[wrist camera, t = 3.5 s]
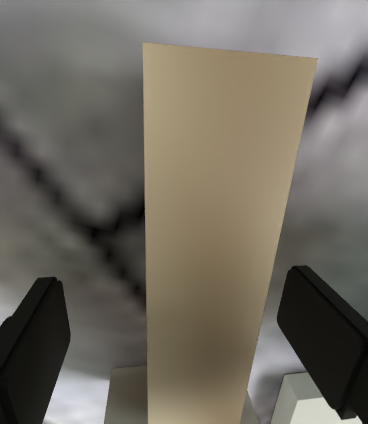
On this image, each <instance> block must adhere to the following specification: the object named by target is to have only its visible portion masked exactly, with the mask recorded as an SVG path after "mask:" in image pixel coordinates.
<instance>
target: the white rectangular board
mask: <svg viewBox="0 0 368 424" xmlns="http://www.w3.org/2000/svg"><path fill="white" fill-rule="evenodd" d="M270 424H362V422H361V420H360V419H359V418H358V416H356V418H353V419H347V420H341V419H340V417H339V416H338V414H337V412H336V411H335V410H334V409H332V408H331V407H330V406H329V405H328V404H327V402H326V401H325V399H324V397H323V396H322V394H321V393H320V391H319V389H318V388H317V386H316V385H315V383H314V381H313V380H312V378H311V377H310V375H309V373H308V372H306V373H297V374H288V375H284V378H283V382H282V385H281V389H280V392H279V396H278V399H277V402H276V406H275V409H274V413H273V416H272V420H271V423H270Z"/></svg>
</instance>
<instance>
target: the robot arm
mask: <svg viewBox="0 0 368 424" xmlns="http://www.w3.org/2000/svg"><path fill="white" fill-rule="evenodd" d="M277 323H278V325H279V327H280V329H281V330H282V332H283V333H284V335H285V337H286V338H287V340H288V341H289V343H290V345H291V346H292V348H293V349H294V351H295V353H296V354H297V356H298V357H299V359H300V361H301V362H302V364H303V365H304V367H305V369H306V370H307V372H308V373H309V375H310V377H311V378H312V380H313V381H314V383H315V385H316V386H317V388H318V389H319V391H320V393H321V394H322V396H323V397H324V399H325V401H326V402H327V404H328V405H329V406H330V407H331V408H332V409H334V410H335V411H336V412H337V414H338V416H339V417H340V419H341V420H347V419H353V418H356V416H358V418H359V419H360V420H361V422H362V424H368V322H367V321H366V320H365V319H364V318H363V317H362V316H361V315H360V314H359V313H358V312H357V311H356V310H355V309H353V308H352V307H351V306H350V305H349V304H348V303H347V302H346V301H345V300H344V299H343V298H342V297H341V296H340V295H338V294H337V293H336V292H335V291H334V290H333V289H332V288H331V287H330V286H329V285H328V284H327V283H326V282H325V281H323V280H322V279H321V278H320V277H319V276H318V275H317V274H316V273H315V272H314V271H313V270H312V269H311V268H310V267H308V266H306V265H304V266H293V267H292V268H291V270H289V271H288V273H287V277H286V281H285V285H284V289H283V293H282V298H281V302H280V306H279V310H278V314H277ZM70 335H71V334H70V327H69V321H68V315H67V309H66V303H65V297H64V291H63V285H62V282H61V281H57V279H56V277H42V278H38V279H37V280H36V281H35V283H34V284H33V286H32V287H31V289H30V290H29V292H28V293H27V295H26V296H25V297H24V299H23V300H22V302H21V303H20V305H19V306H18V308H17V309H16V311H15V312H14V314H13V315H12V316H10V317H8V318H7V319H6V320H5V321H4V322H3V323H2V325H1V326H0V424H42V422H43V419H44V417H45V414H46V411H47V408H48V405H49V402H50V399H51V396H52V393H53V390H54V387H55V384H56V381H57V378H58V375H59V372H60V370H61V367H62V364H63V361H64V358H65V355H66V352H67V349H68V346H69V343H70Z"/></svg>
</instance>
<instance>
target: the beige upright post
mask: <svg viewBox="0 0 368 424" xmlns="http://www.w3.org/2000/svg"><path fill="white" fill-rule="evenodd" d="M317 60H318V58H309V57H298V56H287V55H276V54H264V53H253V52H242V51H231V50H220V49H209V48H198V47H187V46H176V45H165V44H154V43H143V99H144V170H145V241H146V312H147V365H145V366H135V367H124V368H114V369H112V371H111V378H110V385H109V392H108V399H107V406H106V412H105V419H104V424H259V422H258V419H257V417H256V414H255V411H254V408H253V405H252V403H251V400H250V397H249V394H248V391H247V387H248V382H249V377H250V373H251V368H252V363H253V359H254V354H255V349H256V345H257V340H258V335H259V331H260V326H261V321H262V317H263V312H264V307H265V303H266V298H267V293H268V289H269V284H270V279H271V275H272V270H273V265H274V261H275V256H276V251H277V247H278V242H279V237H280V233H281V228H282V223H283V219H284V214H285V209H286V205H287V200H288V195H289V191H290V186H291V181H292V176H293V172H294V167H295V162H296V158H297V153H298V148H299V144H300V139H301V134H302V130H303V125H304V120H305V116H306V111H307V106H308V102H309V97H310V92H311V88H312V83H313V78H314V74H315V69H316V64H317Z"/></svg>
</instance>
